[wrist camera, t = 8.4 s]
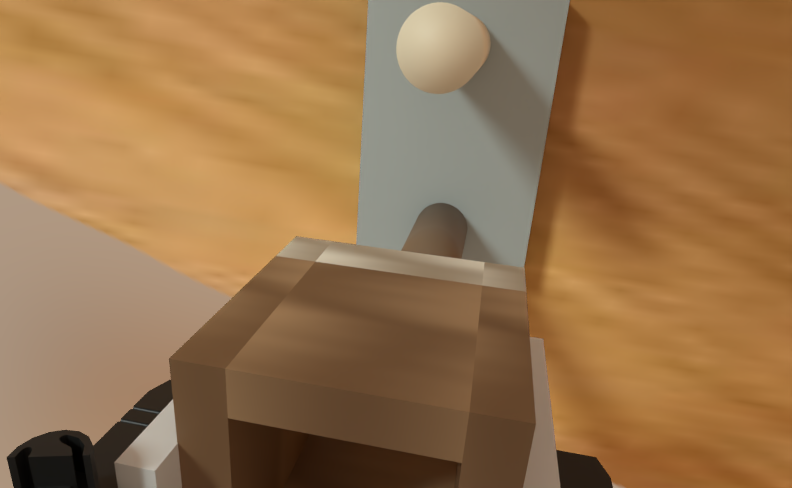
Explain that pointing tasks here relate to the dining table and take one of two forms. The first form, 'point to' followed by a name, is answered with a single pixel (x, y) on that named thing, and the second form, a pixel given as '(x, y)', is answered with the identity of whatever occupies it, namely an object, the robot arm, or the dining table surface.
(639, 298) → the dining table surface
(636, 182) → the dining table surface
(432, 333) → the brown open cube
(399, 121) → the pin stand
